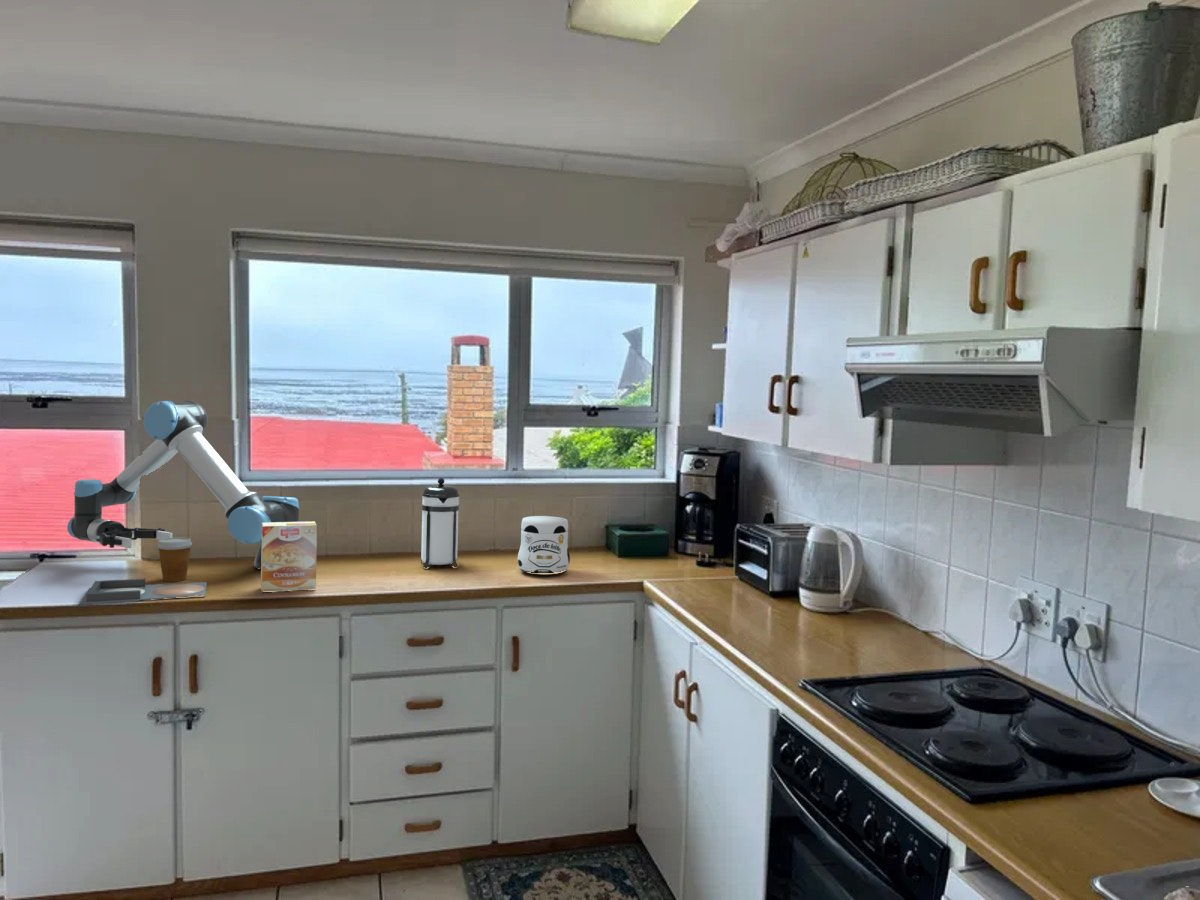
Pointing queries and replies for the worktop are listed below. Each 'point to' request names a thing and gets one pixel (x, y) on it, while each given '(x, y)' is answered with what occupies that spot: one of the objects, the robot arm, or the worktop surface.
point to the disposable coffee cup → (174, 558)
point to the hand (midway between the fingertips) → (151, 540)
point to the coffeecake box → (288, 556)
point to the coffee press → (440, 524)
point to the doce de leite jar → (544, 544)
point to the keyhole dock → (139, 591)
